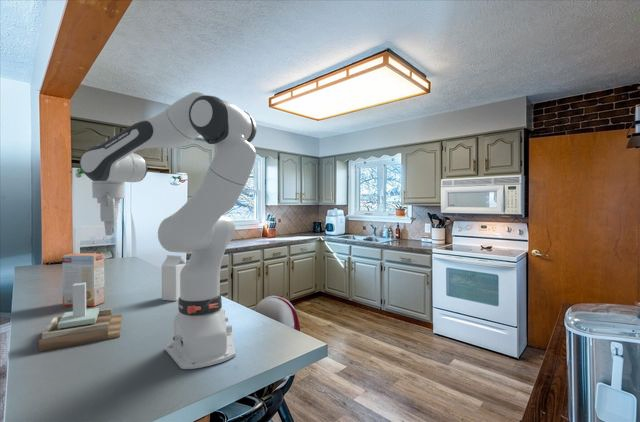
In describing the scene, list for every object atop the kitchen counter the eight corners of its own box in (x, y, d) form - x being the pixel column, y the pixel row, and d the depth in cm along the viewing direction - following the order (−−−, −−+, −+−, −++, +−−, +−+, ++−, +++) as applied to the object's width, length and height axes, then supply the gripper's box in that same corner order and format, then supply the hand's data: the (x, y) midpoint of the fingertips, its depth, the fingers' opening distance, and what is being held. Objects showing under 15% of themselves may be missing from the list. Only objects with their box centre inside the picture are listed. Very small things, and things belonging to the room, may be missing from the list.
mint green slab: (95, 327, 96) (94, 286, 95) (57, 334, 91) (57, 290, 91) (99, 316, 105) (98, 278, 105) (65, 321, 100) (64, 282, 100)
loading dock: (119, 337, 96) (119, 322, 96) (38, 351, 86) (38, 335, 86) (121, 318, 111) (121, 306, 111) (53, 329, 102) (53, 315, 102)
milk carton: (176, 301, 132) (175, 257, 131) (161, 300, 133) (161, 256, 133) (186, 296, 139) (186, 254, 138) (172, 295, 140) (172, 253, 140)
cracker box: (105, 302, 130) (105, 253, 129) (93, 307, 124) (93, 255, 123) (75, 301, 131) (74, 252, 131) (61, 306, 125) (61, 254, 125)
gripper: (119, 191, 96) (120, 235, 96) (120, 194, 113) (121, 231, 113) (94, 191, 92) (95, 237, 92) (99, 194, 110) (100, 232, 110)
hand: (109, 234), depth 103 cm, fingers open, 8 cm apart
